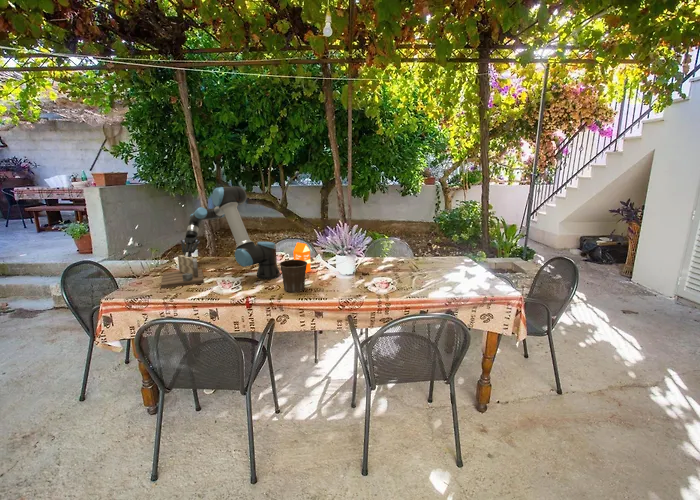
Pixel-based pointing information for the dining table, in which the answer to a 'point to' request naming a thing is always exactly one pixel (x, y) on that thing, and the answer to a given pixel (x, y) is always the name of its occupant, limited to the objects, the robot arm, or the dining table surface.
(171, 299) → the dining table surface
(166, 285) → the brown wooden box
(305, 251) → the orange juice
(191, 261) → the leg panel
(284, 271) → the plant pot
